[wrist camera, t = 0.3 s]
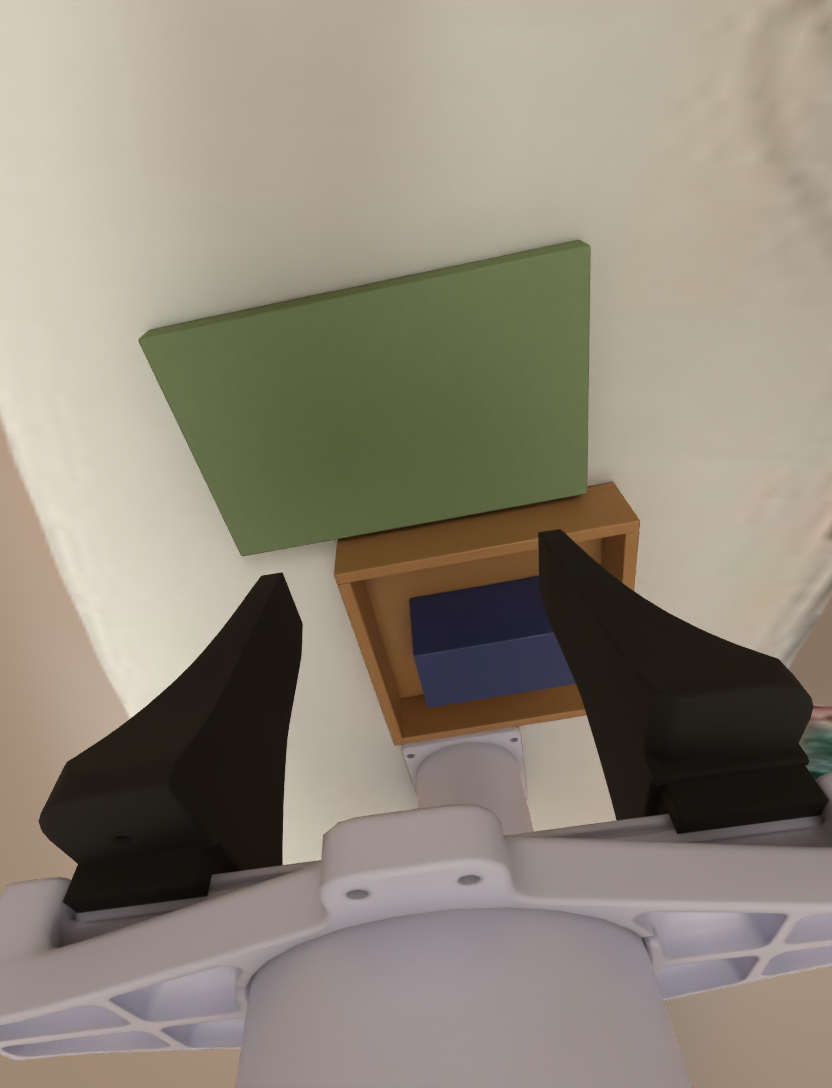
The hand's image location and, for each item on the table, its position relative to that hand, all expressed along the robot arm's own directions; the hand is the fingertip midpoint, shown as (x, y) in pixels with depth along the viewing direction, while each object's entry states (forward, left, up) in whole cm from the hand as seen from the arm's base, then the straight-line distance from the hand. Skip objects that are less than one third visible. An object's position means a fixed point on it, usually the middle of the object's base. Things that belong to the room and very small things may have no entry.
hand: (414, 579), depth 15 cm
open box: (-11, -3, -10) cm, 15 cm away
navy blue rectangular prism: (-11, -3, -9) cm, 15 cm away
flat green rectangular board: (+1, 0, -10) cm, 10 cm away
